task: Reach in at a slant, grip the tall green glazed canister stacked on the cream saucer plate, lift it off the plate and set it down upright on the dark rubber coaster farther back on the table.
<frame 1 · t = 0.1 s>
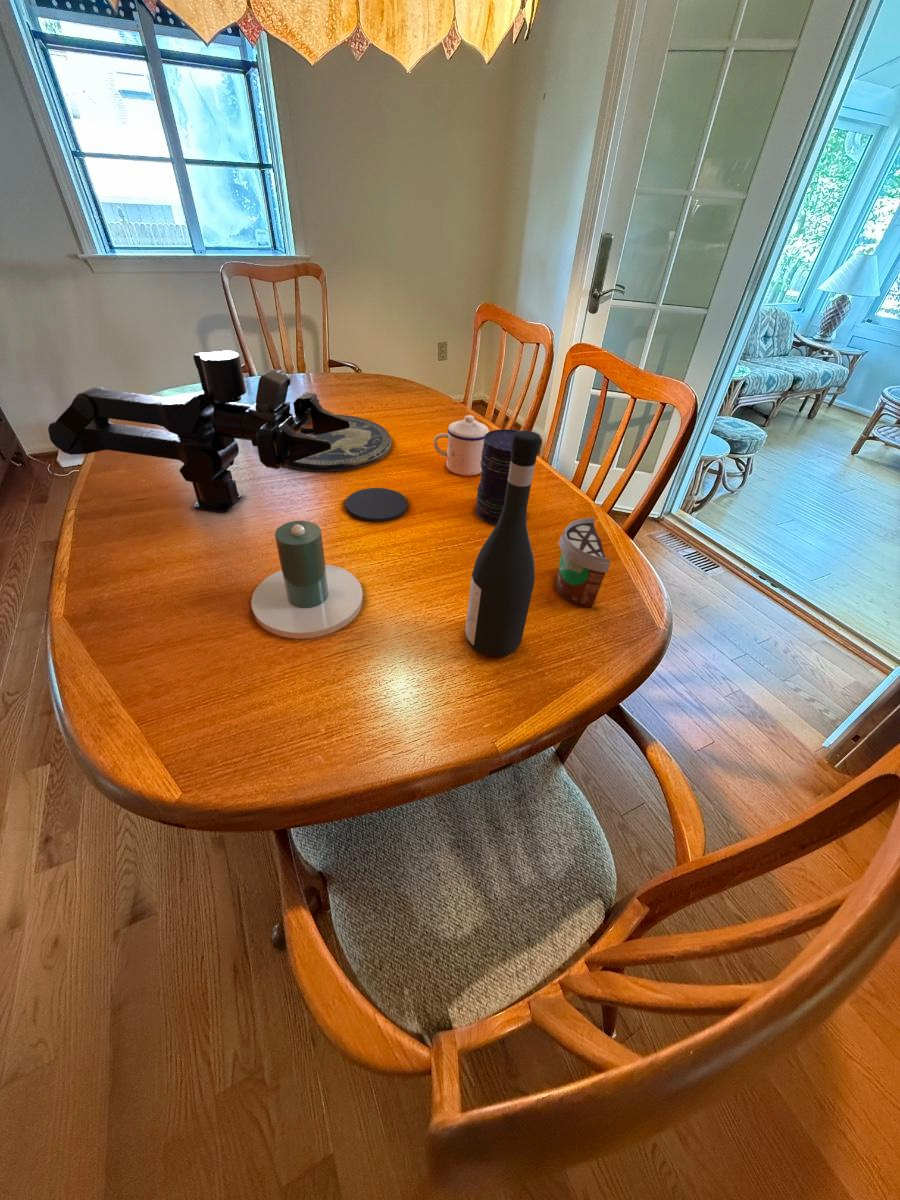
hand: (340, 434, 81), 17 cm above the table, tool horizontal, fingers open, 9 cm apart
coaster: (376, 506, 97), on the table
decorative plate: (328, 444, 118), on the table
wine bottle: (492, 641, 71), on the table
food container: (567, 588, 81), on the table
teacup with lid: (458, 467, 113), on the table
saucer plate: (309, 601, 74), on the table, touching canister
canister: (308, 595, 74), point 1 cm above the table, touching saucer plate
storage jar: (500, 513, 98), on the table
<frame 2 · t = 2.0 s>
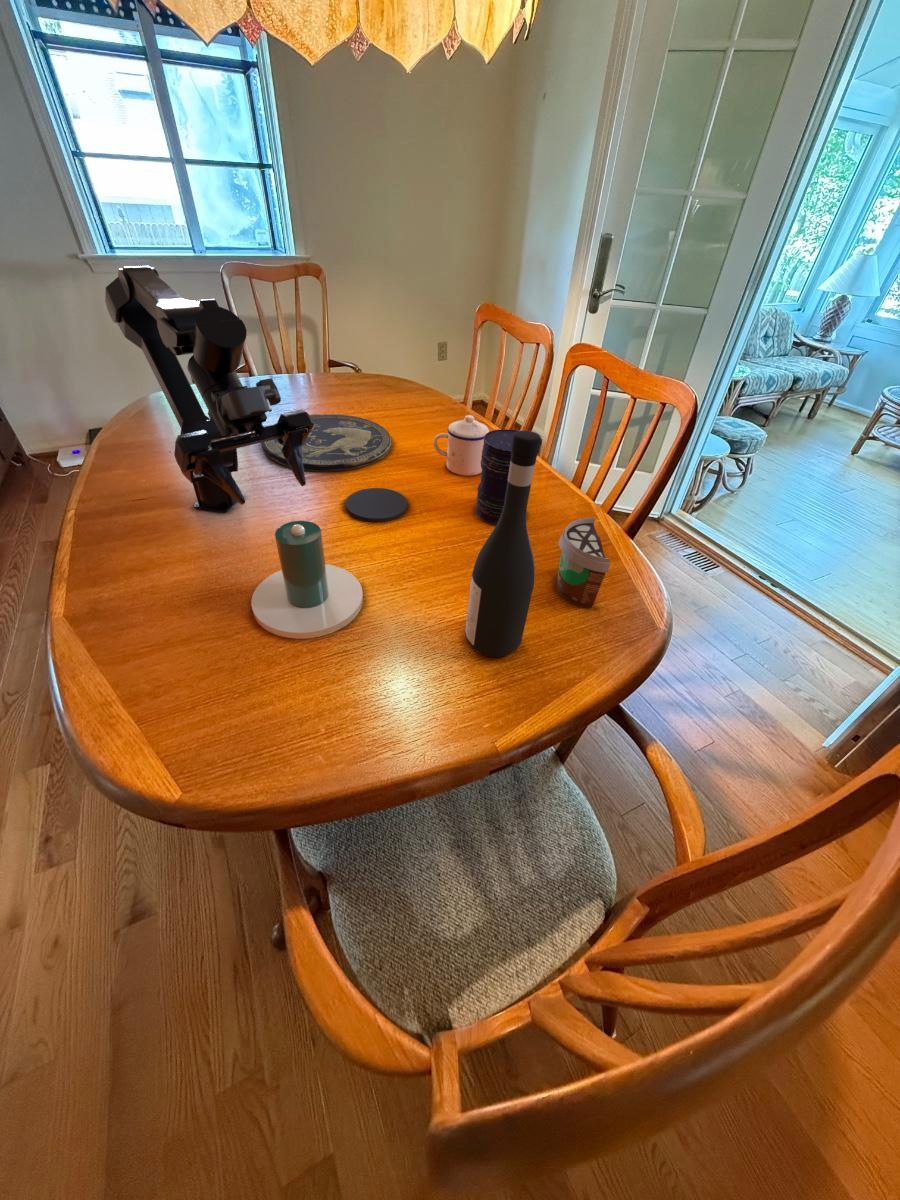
hand: (274, 493, 70), 14 cm above the table, tool tilted 45°, fingers open, 9 cm apart
nothing on the table moved.
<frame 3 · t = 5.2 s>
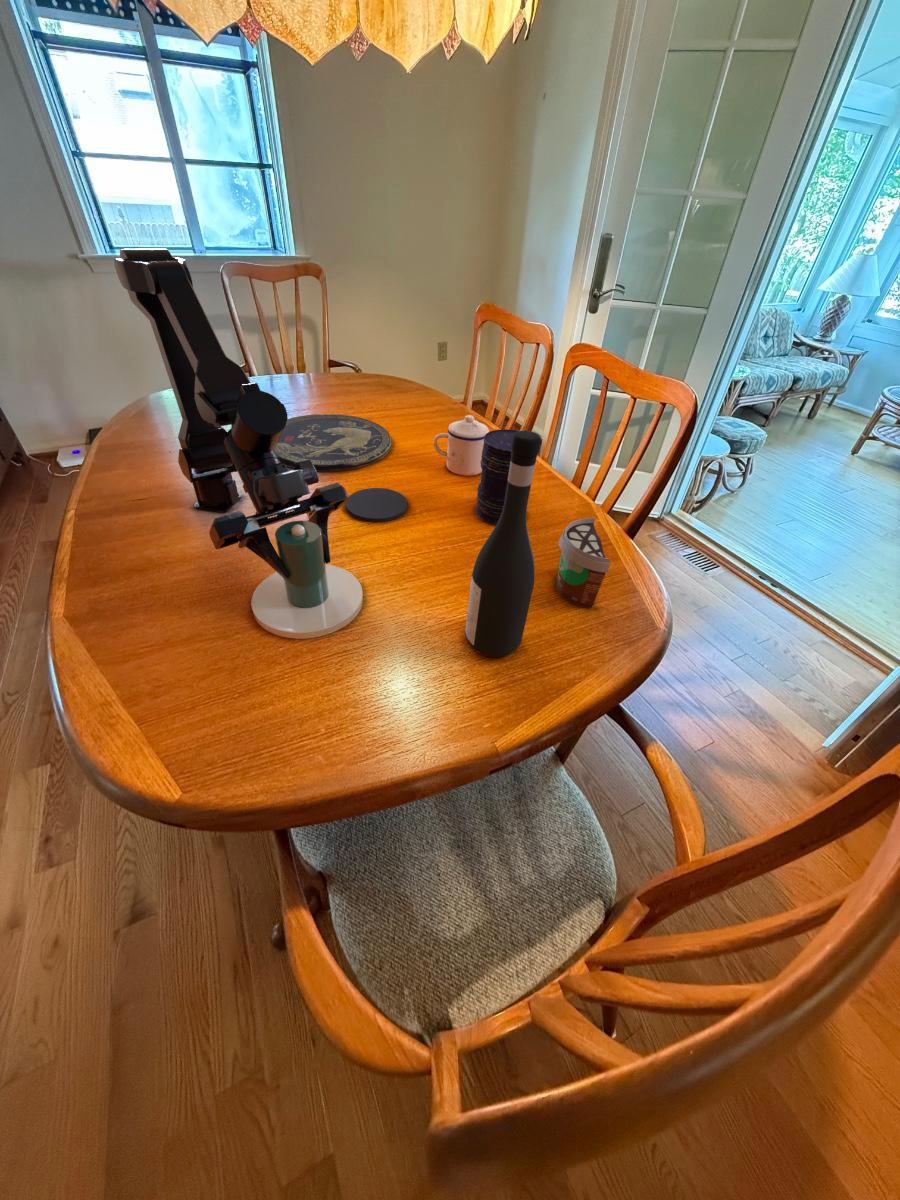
hand: (308, 570, 69), 7 cm above the table, tool tilted 45°, fingers closed on canister, 6 cm apart
canister: (308, 595, 74), point 1 cm above the table, touching gripper, saucer plate
everything else where it was.
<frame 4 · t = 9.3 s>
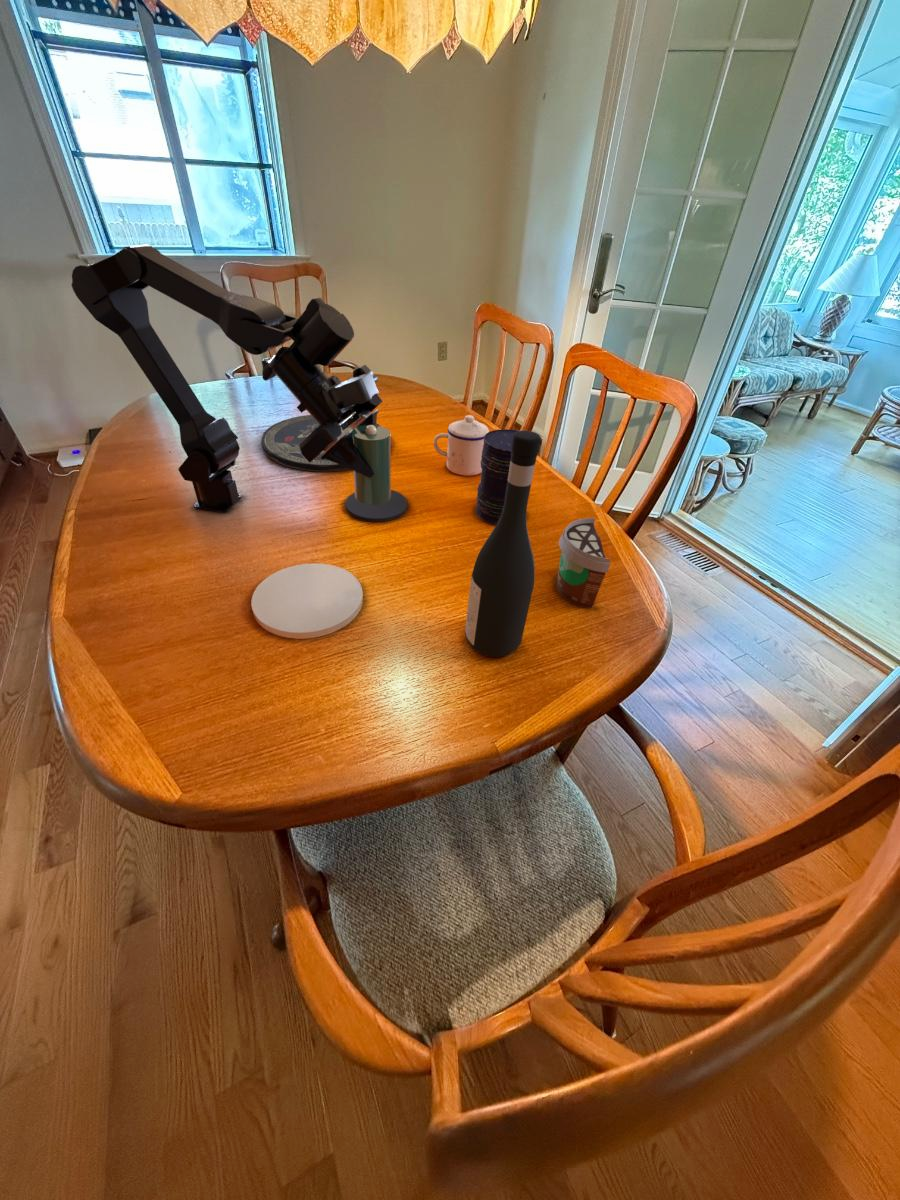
hand: (379, 467, 80), 13 cm above the table, tool tilted 45°, fingers closed on canister, 6 cm apart
saucer plate: (309, 601, 74), on the table
canister: (373, 496, 83), point 8 cm above the table, touching gripper
everything else where it was.
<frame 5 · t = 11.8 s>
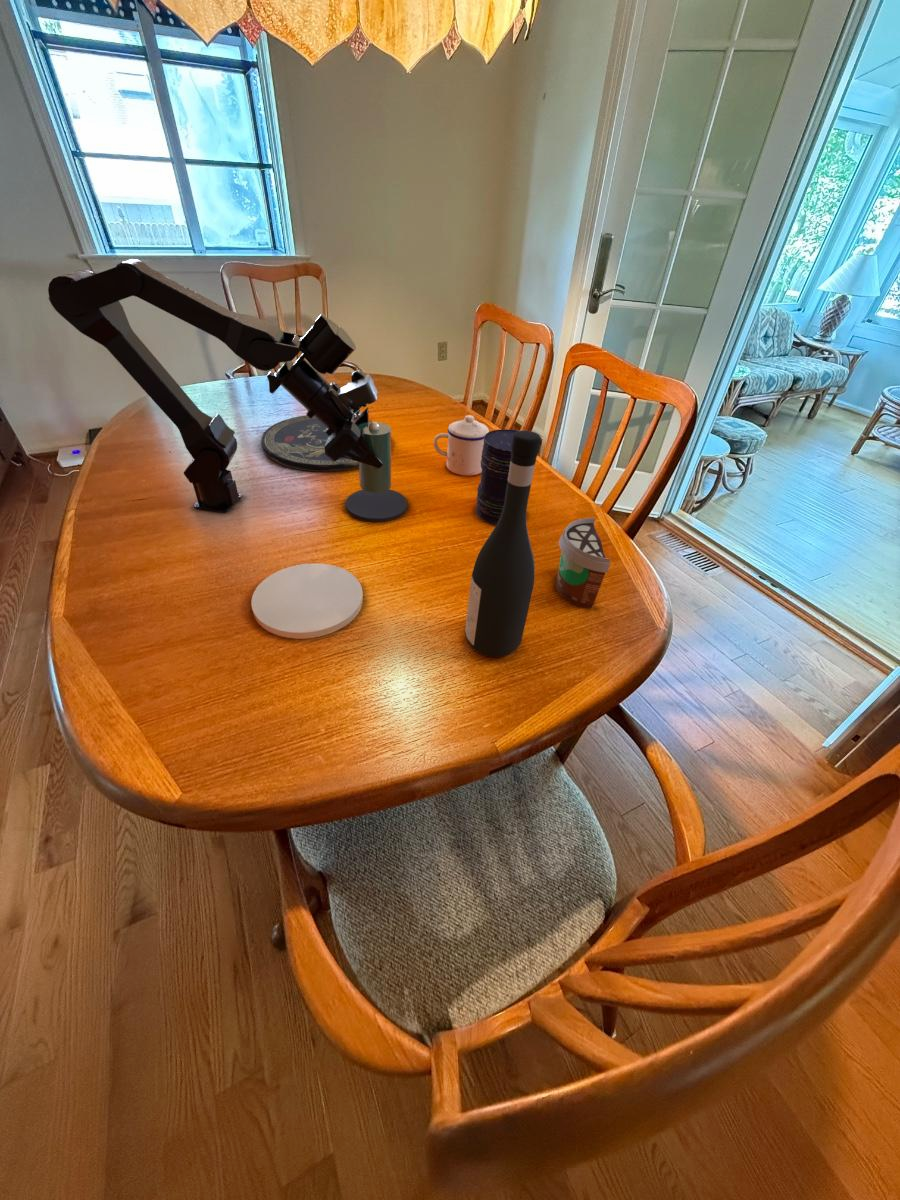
hand: (382, 458, 91), 10 cm above the table, tool tilted 45°, fingers closed on canister, 6 cm apart
canister: (375, 485, 94), point 4 cm above the table, touching gripper
everything else where it was.
when the fingers open (6 cm above the table, at t = 13.4 s): canister stays where it is, resting on coaster.
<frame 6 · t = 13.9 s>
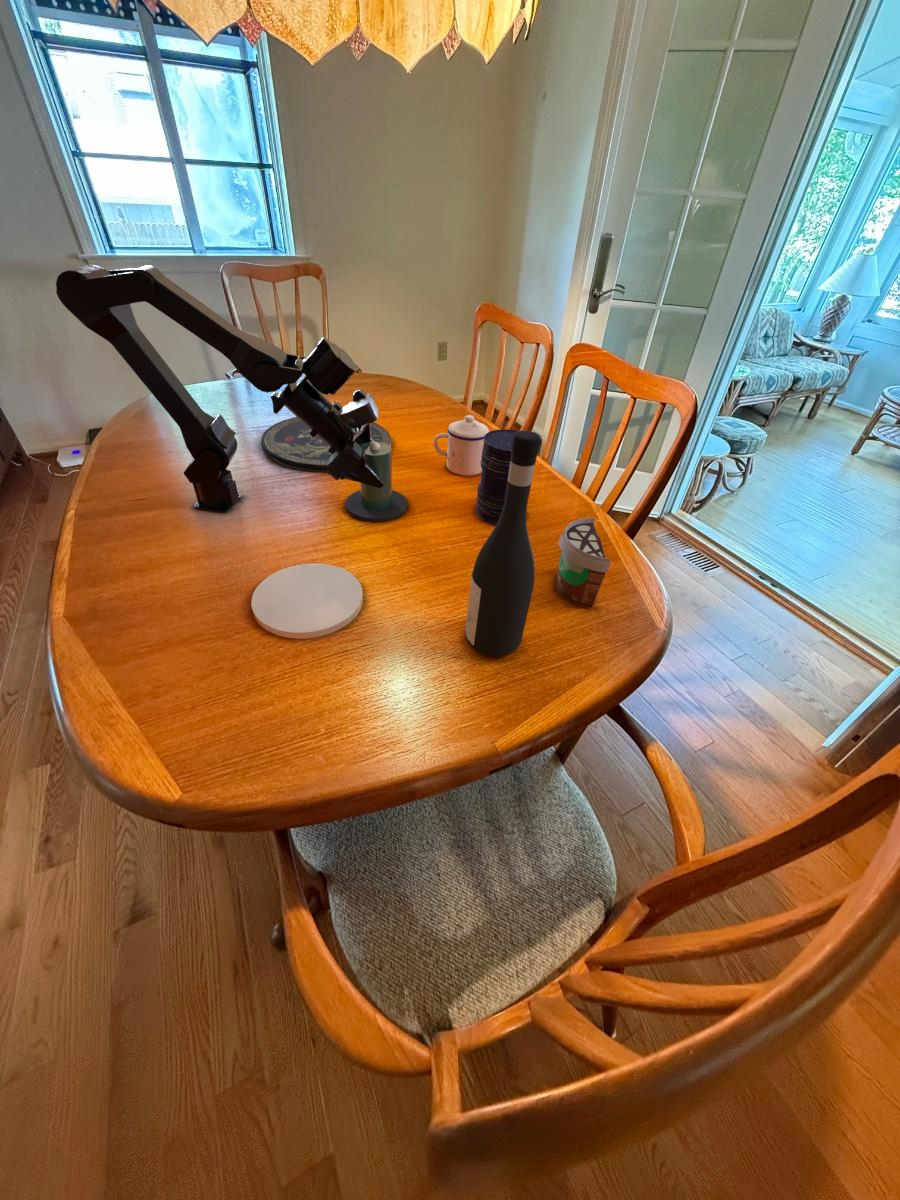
hand: (383, 474, 93), 7 cm above the table, tool tilted 45°, fingers open, 9 cm apart
canister: (376, 502, 96), point 1 cm above the table, touching coaster
everything else where it was.
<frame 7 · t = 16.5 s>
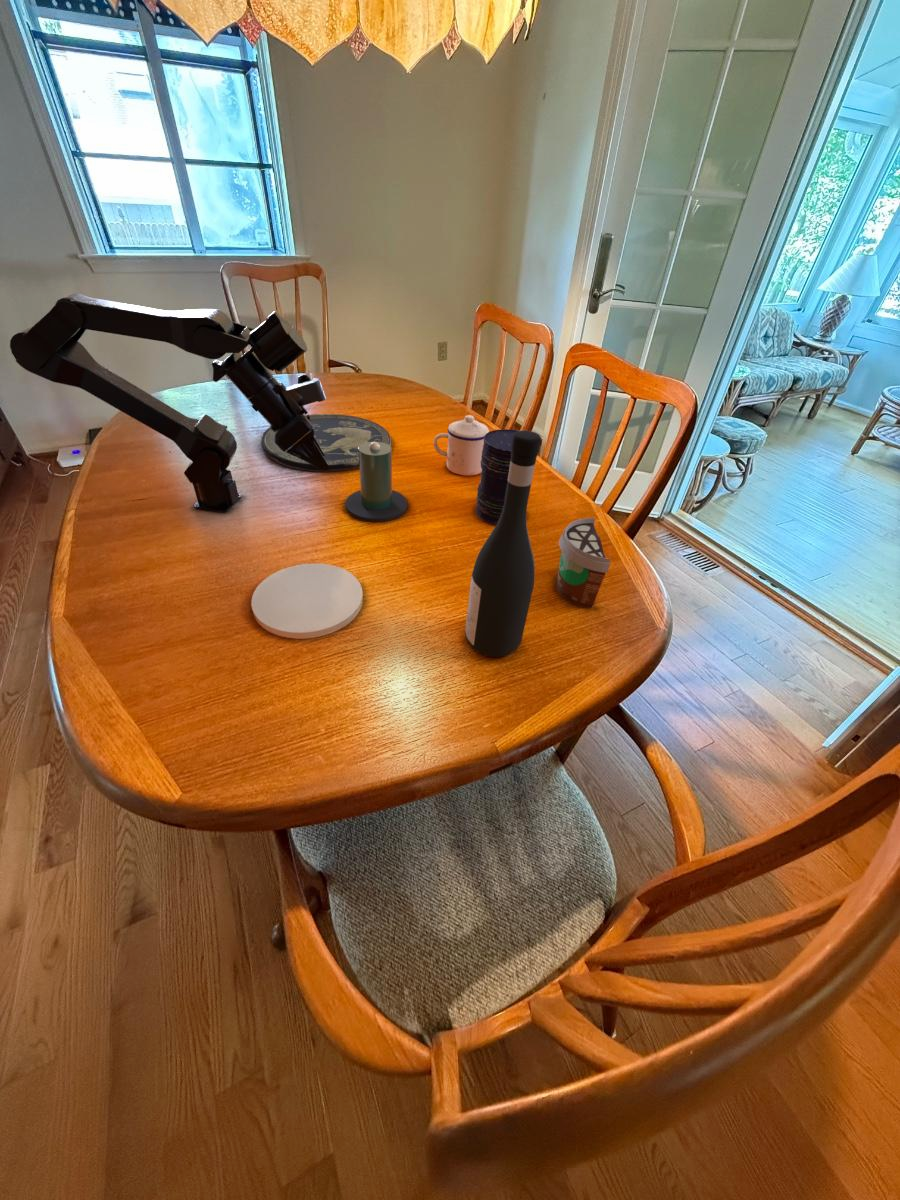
hand: (324, 463, 90), 9 cm above the table, tool tilted 35°, fingers open, 9 cm apart
nothing on the table moved.
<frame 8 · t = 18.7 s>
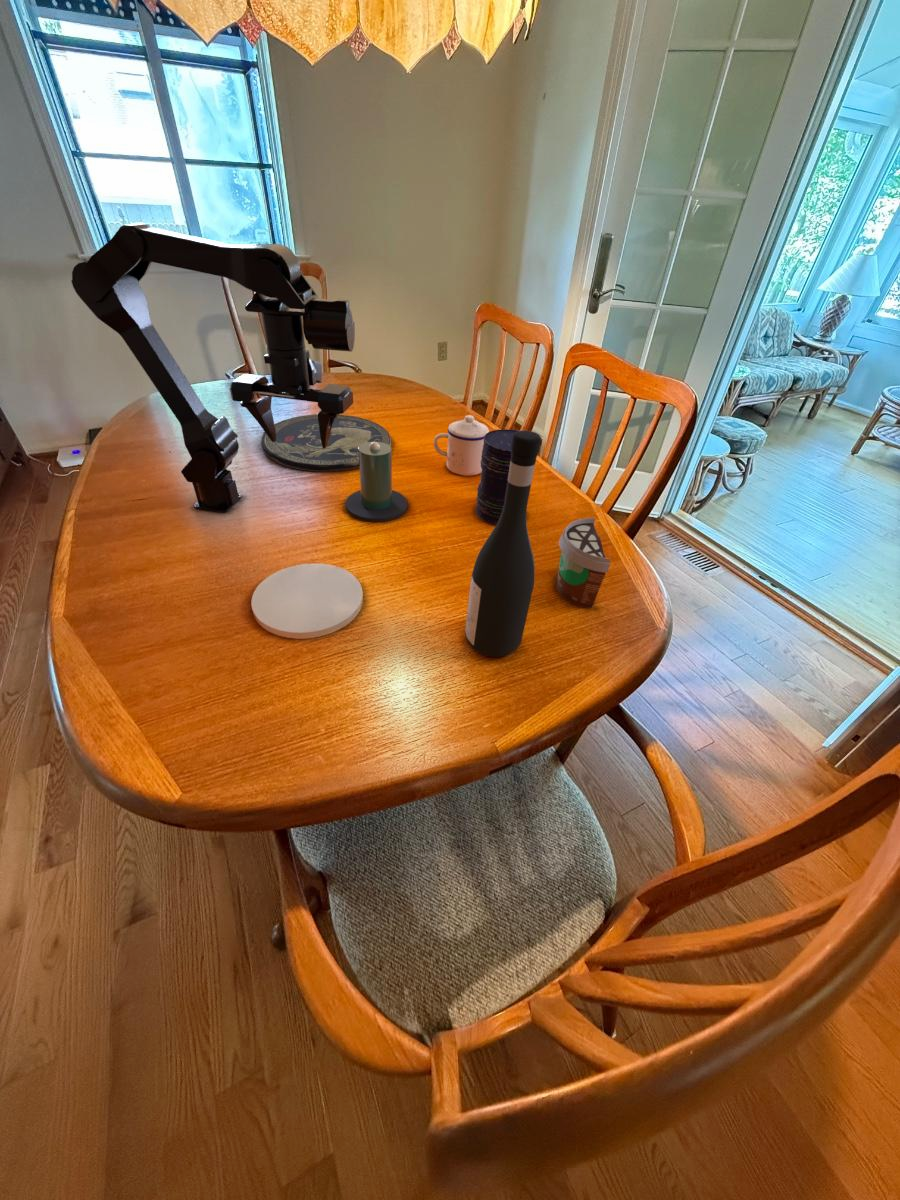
hand: (299, 444, 86), 13 cm above the table, tool pointing down, fingers open, 9 cm apart
nothing on the table moved.
at the end: canister 0.0 cm off-centre on the coaster, point 0.8 cm above the coaster's base; canister tilted 0°; saucer plate moved 0.0 cm from its start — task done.
